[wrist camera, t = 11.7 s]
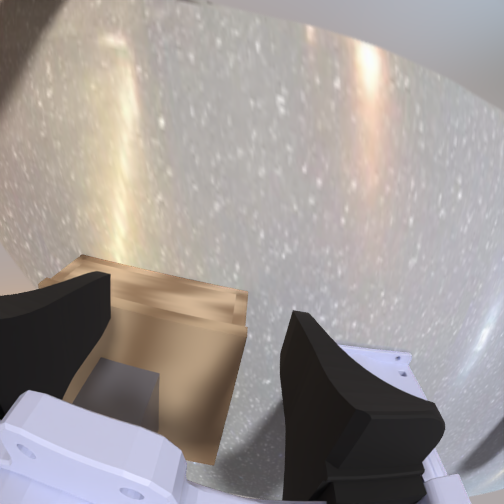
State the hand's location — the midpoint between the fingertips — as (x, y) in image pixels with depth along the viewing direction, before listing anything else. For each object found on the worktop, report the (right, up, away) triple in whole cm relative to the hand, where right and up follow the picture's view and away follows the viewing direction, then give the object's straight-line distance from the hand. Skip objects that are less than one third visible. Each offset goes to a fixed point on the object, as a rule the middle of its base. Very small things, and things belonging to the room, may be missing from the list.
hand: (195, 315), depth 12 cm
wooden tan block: (-6, -7, +8) cm, 12 cm away
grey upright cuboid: (-6, -7, +7) cm, 12 cm away
